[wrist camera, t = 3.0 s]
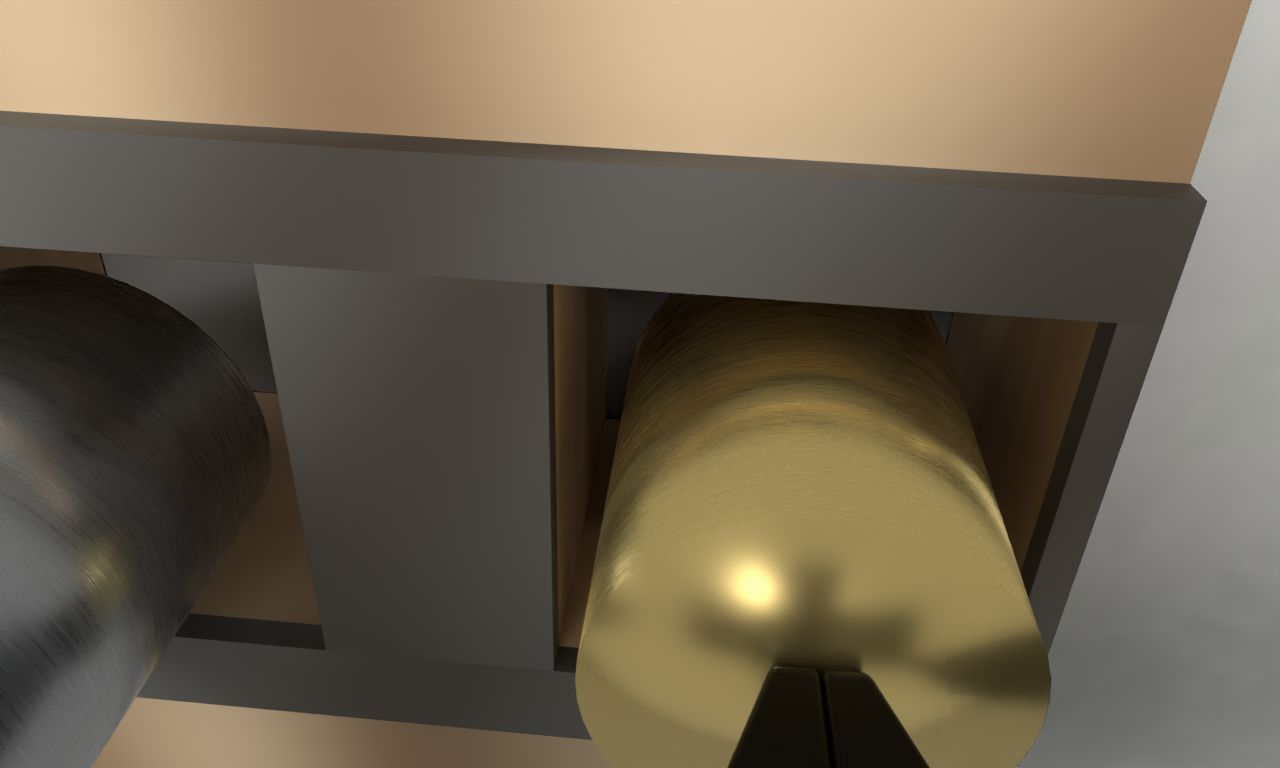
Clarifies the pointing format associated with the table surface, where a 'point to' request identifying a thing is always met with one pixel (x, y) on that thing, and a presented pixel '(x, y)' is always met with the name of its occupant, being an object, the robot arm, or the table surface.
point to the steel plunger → (107, 499)
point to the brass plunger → (802, 538)
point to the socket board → (583, 291)
